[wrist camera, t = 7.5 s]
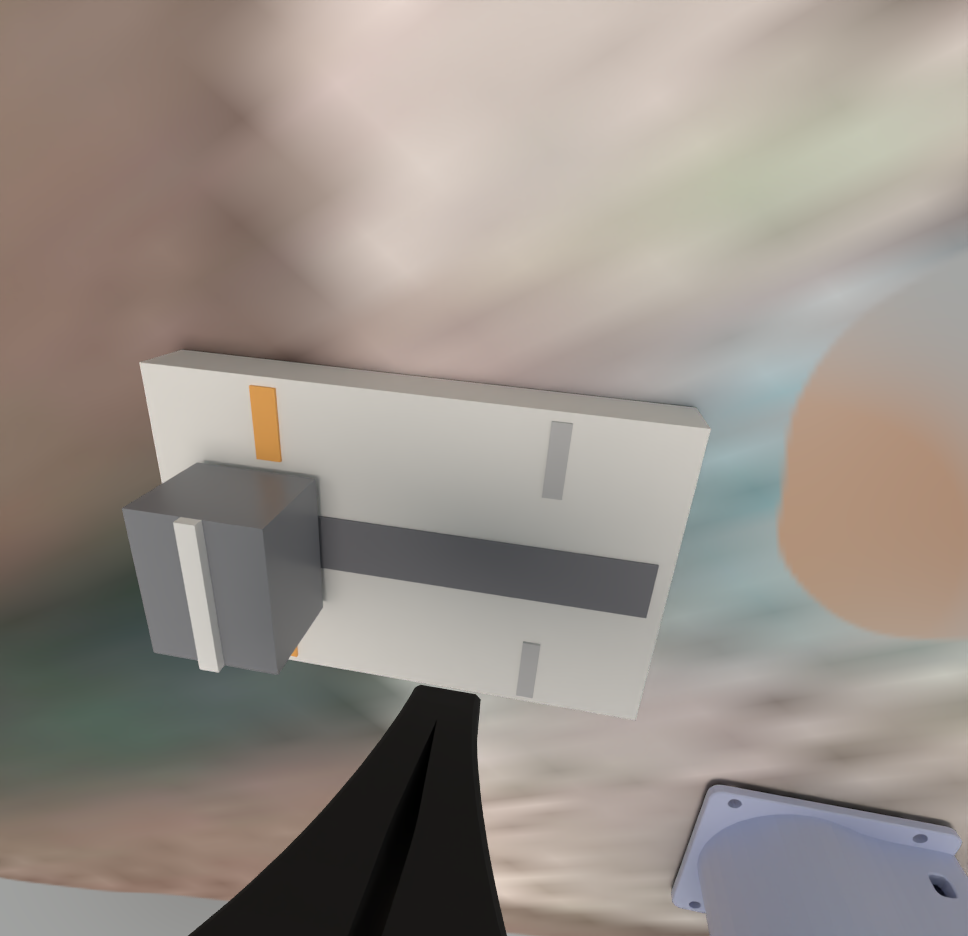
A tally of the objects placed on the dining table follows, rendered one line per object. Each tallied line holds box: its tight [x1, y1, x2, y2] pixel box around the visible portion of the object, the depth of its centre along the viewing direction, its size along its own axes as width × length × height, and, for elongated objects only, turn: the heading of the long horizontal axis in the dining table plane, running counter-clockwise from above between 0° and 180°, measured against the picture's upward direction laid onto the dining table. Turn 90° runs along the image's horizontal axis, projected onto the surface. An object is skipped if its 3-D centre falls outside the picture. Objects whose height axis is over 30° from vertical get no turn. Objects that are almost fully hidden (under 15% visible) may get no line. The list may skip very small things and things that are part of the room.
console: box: [140, 350, 711, 721], centre depth 19 cm, size 17×11×2 cm, turn 85°
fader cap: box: [122, 462, 323, 675], centre depth 17 cm, size 4×5×4 cm
